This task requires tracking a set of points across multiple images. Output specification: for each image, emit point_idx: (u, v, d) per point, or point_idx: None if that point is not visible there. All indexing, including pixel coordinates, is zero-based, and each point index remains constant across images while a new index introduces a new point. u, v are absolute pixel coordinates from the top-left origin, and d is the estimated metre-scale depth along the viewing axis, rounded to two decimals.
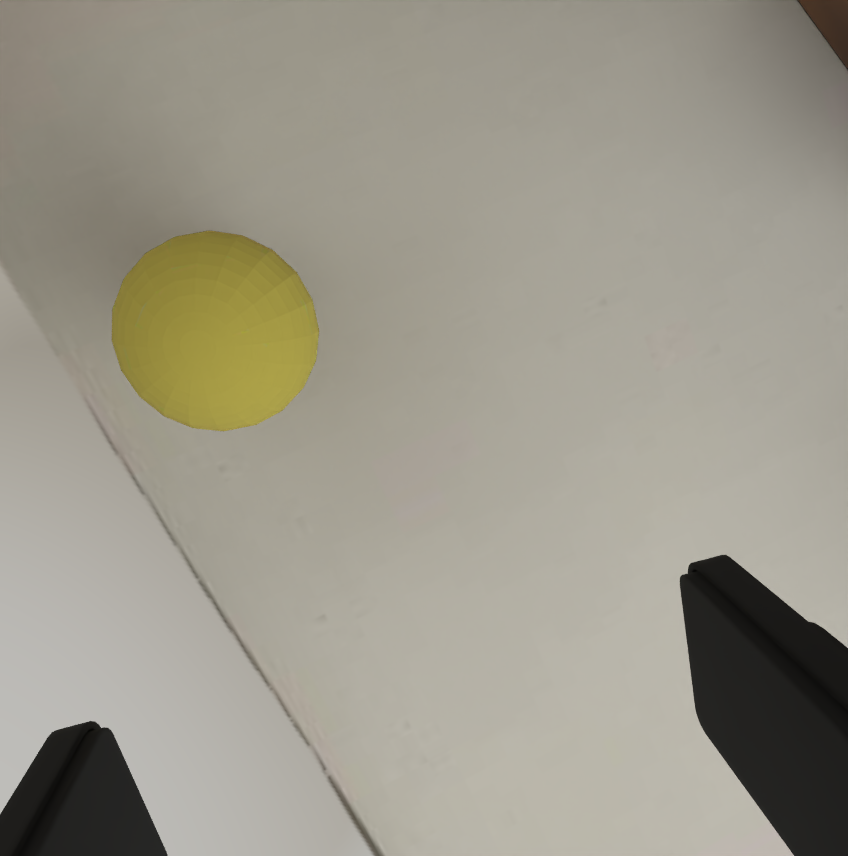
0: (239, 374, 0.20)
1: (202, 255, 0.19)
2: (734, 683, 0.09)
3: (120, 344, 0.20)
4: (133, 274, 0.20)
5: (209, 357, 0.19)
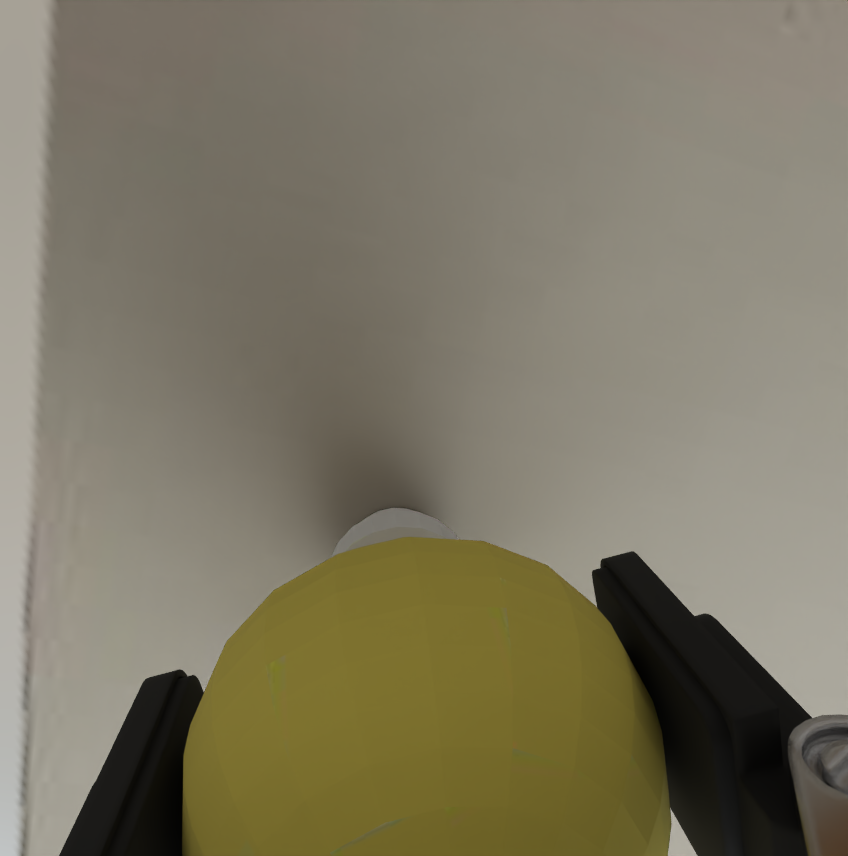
0: None
1: (588, 737, 0.07)
2: None
3: (244, 821, 0.07)
4: (385, 656, 0.07)
5: None
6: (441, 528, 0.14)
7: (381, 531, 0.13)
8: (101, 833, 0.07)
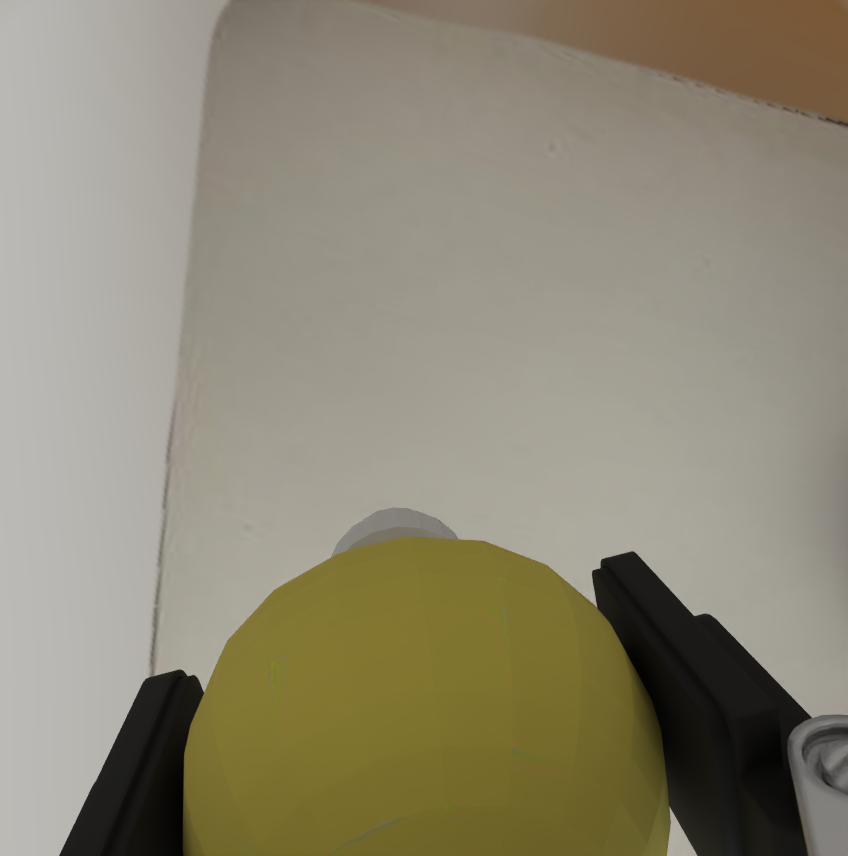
0: None
1: (586, 736, 0.07)
2: None
3: (245, 820, 0.07)
4: (385, 655, 0.07)
5: None
6: (441, 528, 0.14)
7: (381, 531, 0.13)
8: (101, 833, 0.07)
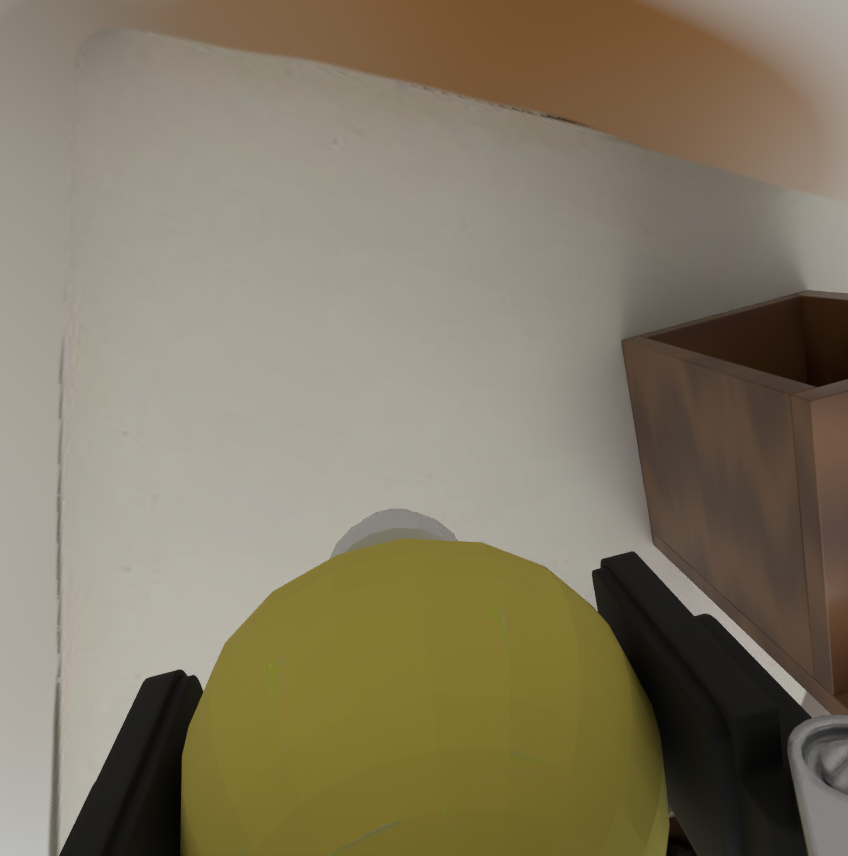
0: None
1: (585, 739, 0.07)
2: None
3: (242, 823, 0.07)
4: (383, 658, 0.07)
5: None
6: (440, 529, 0.14)
7: (380, 533, 0.13)
8: (101, 833, 0.07)
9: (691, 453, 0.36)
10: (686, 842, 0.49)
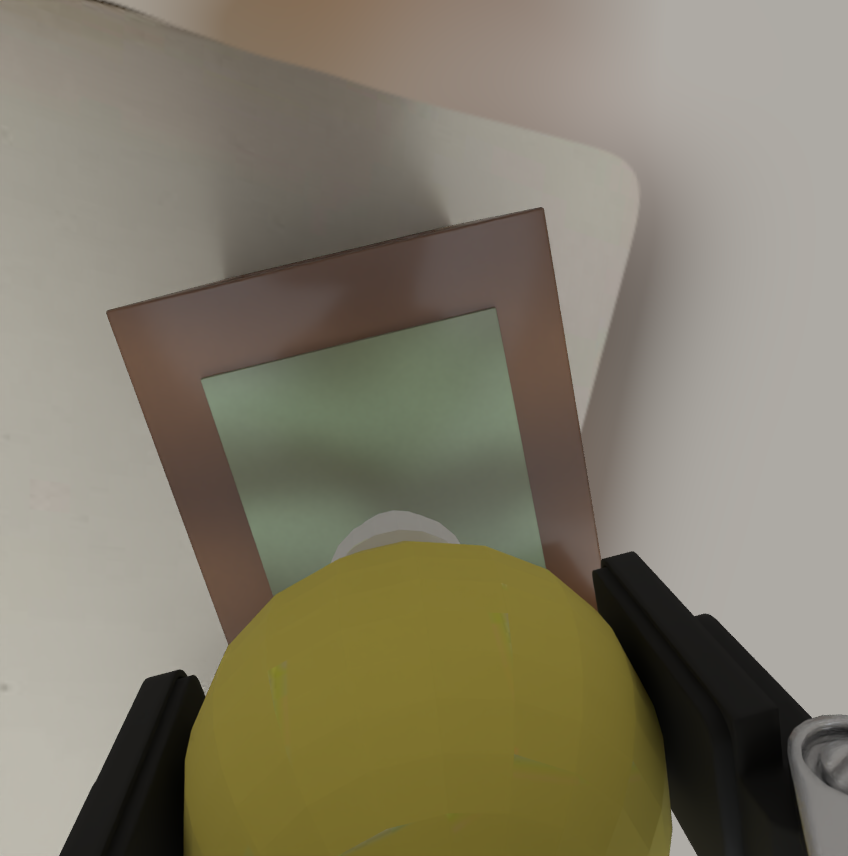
0: None
1: (589, 742, 0.07)
2: None
3: (246, 827, 0.07)
4: (386, 662, 0.07)
5: None
6: (442, 531, 0.14)
7: (381, 535, 0.13)
8: (101, 833, 0.07)
9: None
10: None
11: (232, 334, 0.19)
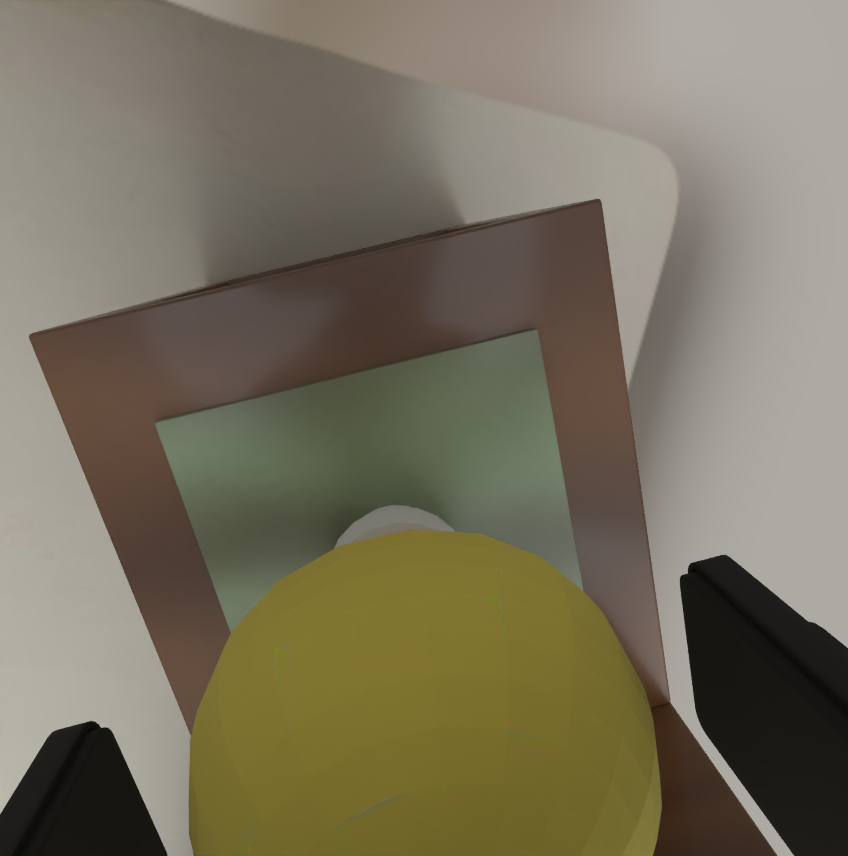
0: None
1: (580, 718, 0.07)
2: (734, 683, 0.09)
3: (250, 799, 0.07)
4: (385, 641, 0.07)
5: None
6: (440, 524, 0.14)
7: (381, 528, 0.14)
8: None
9: None
10: None
11: (195, 364, 0.15)
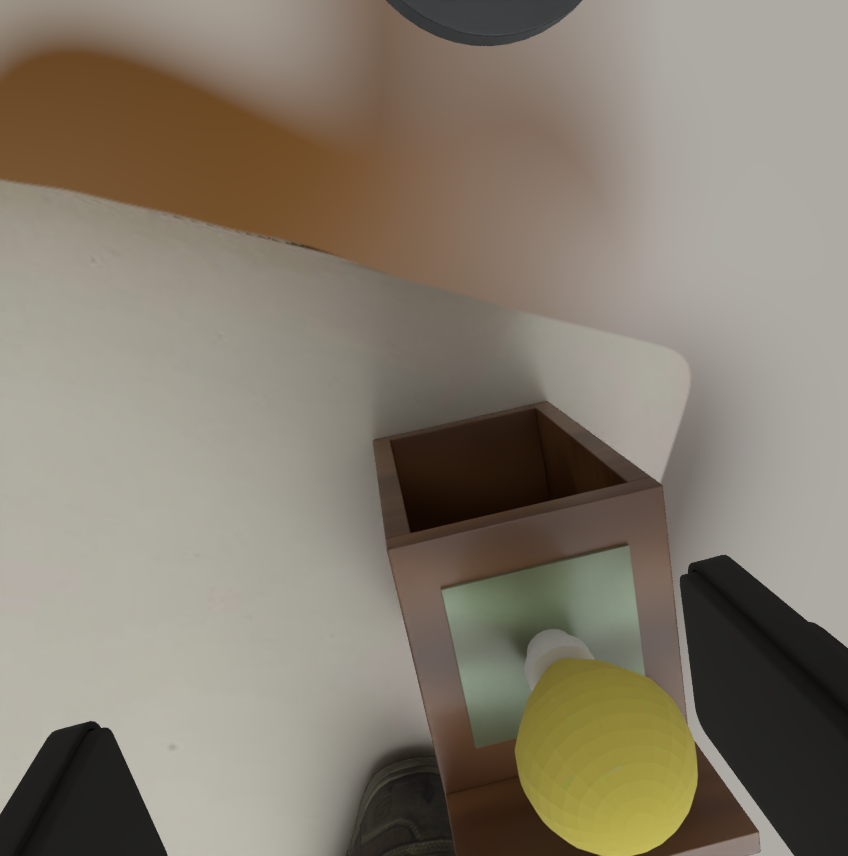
0: (643, 849, 0.22)
1: (674, 743, 0.22)
2: (734, 683, 0.09)
3: (570, 767, 0.22)
4: (610, 716, 0.22)
5: (642, 835, 0.22)
6: (582, 644, 0.29)
7: (557, 647, 0.29)
8: None
9: None
10: None
11: (463, 562, 0.30)
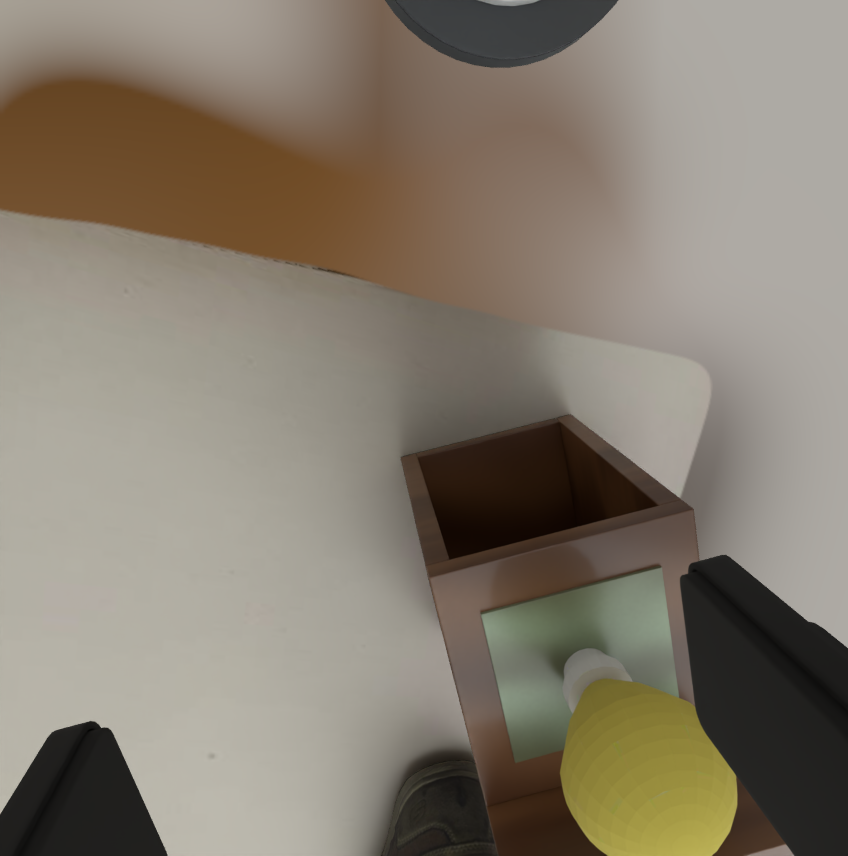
0: None
1: (715, 767, 0.23)
2: (734, 683, 0.09)
3: (617, 792, 0.23)
4: (654, 742, 0.24)
5: (687, 855, 0.23)
6: (619, 664, 0.30)
7: (595, 668, 0.30)
8: None
9: None
10: None
11: (501, 587, 0.31)
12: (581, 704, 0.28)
